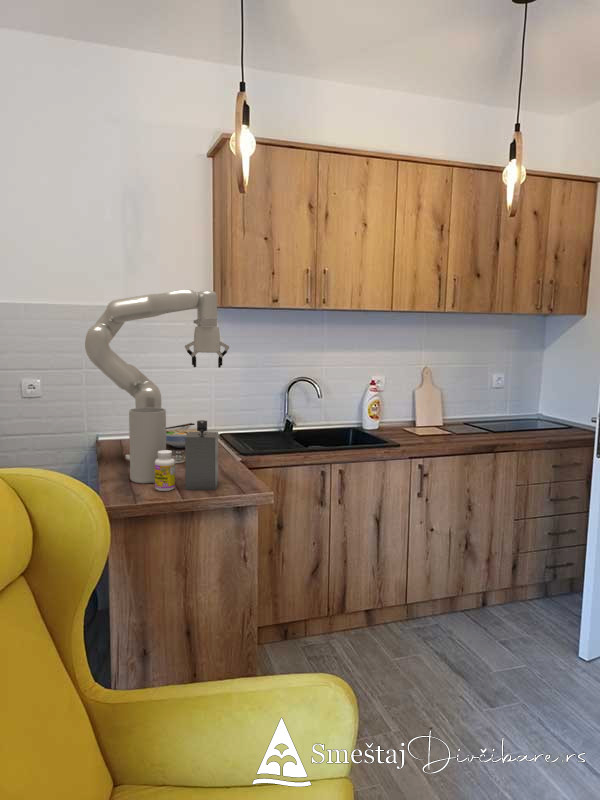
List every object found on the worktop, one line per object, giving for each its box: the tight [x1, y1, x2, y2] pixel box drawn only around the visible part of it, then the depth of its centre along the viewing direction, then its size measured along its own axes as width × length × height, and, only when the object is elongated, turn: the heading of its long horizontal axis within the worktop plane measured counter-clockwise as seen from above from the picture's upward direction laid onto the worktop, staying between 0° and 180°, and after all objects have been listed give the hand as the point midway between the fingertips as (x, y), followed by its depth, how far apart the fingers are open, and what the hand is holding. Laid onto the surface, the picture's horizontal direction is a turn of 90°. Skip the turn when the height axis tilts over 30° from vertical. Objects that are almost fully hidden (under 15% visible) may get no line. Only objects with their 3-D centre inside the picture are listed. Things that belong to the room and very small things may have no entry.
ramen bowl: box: [166, 422, 207, 449], centre depth 270 cm, size 25×23×8 cm
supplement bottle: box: [154, 449, 176, 492], centre depth 201 cm, size 7×7×13 cm
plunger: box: [196, 419, 208, 435], centre depth 205 cm, size 7×7×21 cm
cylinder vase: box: [128, 407, 167, 484], centre depth 212 cm, size 12×12×25 cm
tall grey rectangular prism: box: [184, 431, 219, 491], centre depth 207 cm, size 10×13×18 cm
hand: (207, 367), depth 235 cm, fingers open, 9 cm apart
